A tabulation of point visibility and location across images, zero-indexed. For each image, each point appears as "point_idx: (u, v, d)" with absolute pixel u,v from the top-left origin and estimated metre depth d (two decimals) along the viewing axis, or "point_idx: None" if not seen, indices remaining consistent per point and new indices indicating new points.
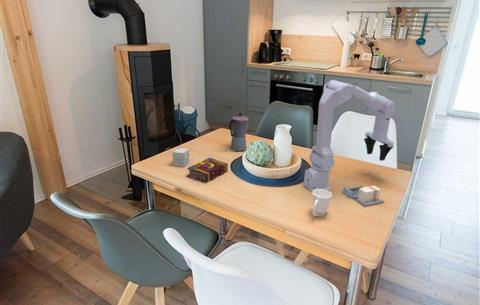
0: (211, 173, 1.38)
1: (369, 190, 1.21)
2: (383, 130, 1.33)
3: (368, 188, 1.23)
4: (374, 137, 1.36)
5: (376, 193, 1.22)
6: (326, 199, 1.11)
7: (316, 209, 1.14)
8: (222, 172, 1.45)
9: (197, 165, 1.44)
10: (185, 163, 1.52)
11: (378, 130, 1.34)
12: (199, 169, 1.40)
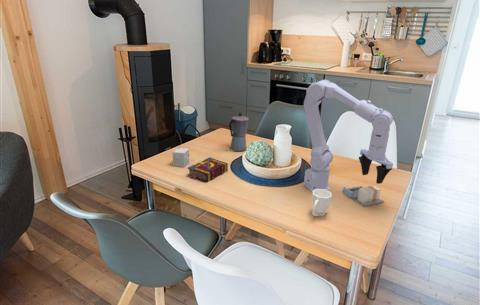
0: (211, 173, 1.39)
1: (369, 190, 1.21)
2: (380, 149, 1.13)
3: (368, 188, 1.23)
4: (370, 156, 1.16)
5: (376, 193, 1.22)
6: (326, 199, 1.11)
7: (316, 209, 1.14)
8: (222, 172, 1.45)
9: (197, 165, 1.45)
10: (185, 163, 1.52)
11: (375, 148, 1.14)
12: (200, 169, 1.40)
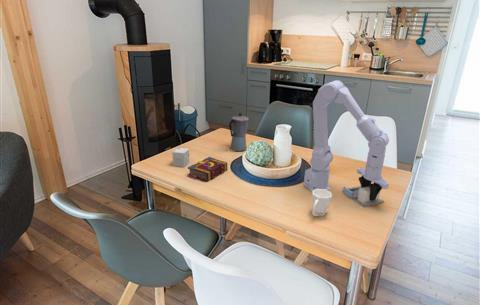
0: (212, 172, 1.39)
1: (369, 190, 1.21)
2: (377, 169, 1.16)
3: (368, 188, 1.23)
4: (366, 176, 1.19)
5: None
6: (326, 199, 1.11)
7: (316, 209, 1.14)
8: (222, 171, 1.46)
9: (197, 164, 1.45)
10: (185, 163, 1.52)
11: (371, 169, 1.17)
12: (200, 168, 1.41)
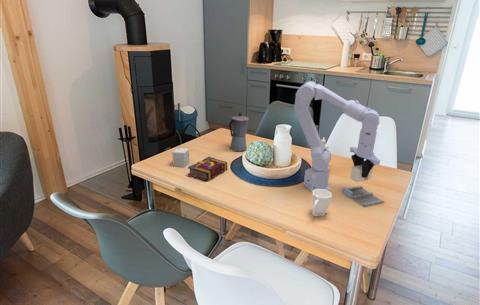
0: (212, 172, 1.39)
1: (361, 168, 1.24)
2: (368, 146, 1.19)
3: (360, 166, 1.25)
4: (359, 153, 1.22)
5: None
6: (326, 199, 1.11)
7: (316, 209, 1.14)
8: (222, 171, 1.46)
9: (197, 164, 1.45)
10: (185, 163, 1.52)
11: (363, 146, 1.20)
12: (200, 168, 1.41)
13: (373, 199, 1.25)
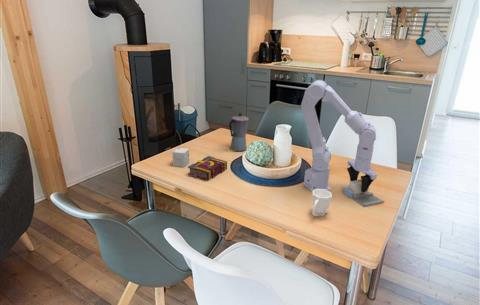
0: (212, 171, 1.40)
1: (359, 183, 1.27)
2: (366, 160, 1.21)
3: (358, 181, 1.28)
4: (356, 167, 1.24)
5: None
6: (326, 199, 1.11)
7: (316, 209, 1.14)
8: (222, 170, 1.47)
9: (197, 164, 1.46)
10: (185, 163, 1.52)
11: (360, 160, 1.22)
12: (200, 168, 1.42)
13: (373, 199, 1.25)
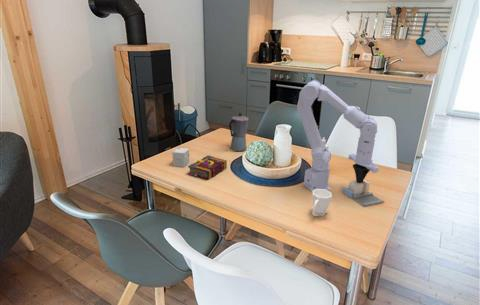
0: (212, 170, 1.41)
1: (359, 183, 1.27)
2: (367, 154, 1.20)
3: None
4: (357, 161, 1.23)
5: (365, 186, 1.27)
6: (326, 199, 1.11)
7: (316, 209, 1.14)
8: (222, 169, 1.48)
9: (197, 163, 1.46)
10: (185, 163, 1.52)
11: (361, 154, 1.21)
12: (200, 167, 1.42)
13: (373, 199, 1.25)
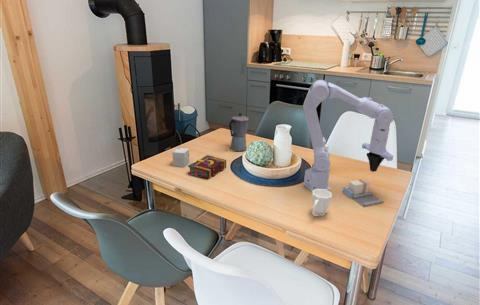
0: (212, 170, 1.41)
1: (359, 183, 1.27)
2: (381, 142, 1.20)
3: (358, 181, 1.28)
4: (371, 149, 1.23)
5: (365, 186, 1.27)
6: (326, 199, 1.11)
7: (316, 209, 1.14)
8: (222, 168, 1.48)
9: (197, 163, 1.47)
10: (185, 163, 1.52)
11: (376, 142, 1.21)
12: (200, 167, 1.43)
13: (373, 199, 1.25)
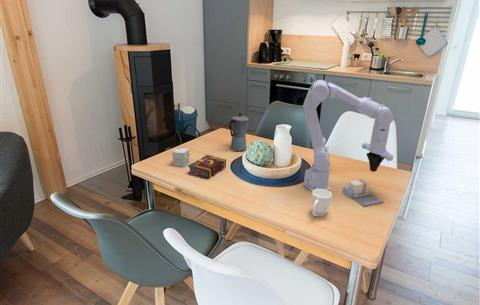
0: (212, 169, 1.42)
1: (359, 183, 1.27)
2: (381, 142, 1.20)
3: (358, 181, 1.28)
4: (371, 149, 1.23)
5: (365, 186, 1.27)
6: (326, 199, 1.11)
7: (316, 209, 1.14)
8: (221, 168, 1.49)
9: (197, 162, 1.47)
10: (185, 163, 1.52)
11: (376, 142, 1.21)
12: (200, 166, 1.43)
13: (373, 199, 1.25)
